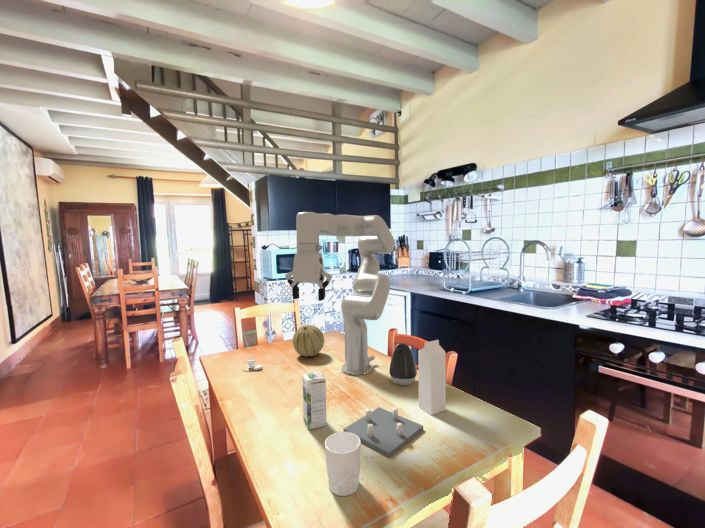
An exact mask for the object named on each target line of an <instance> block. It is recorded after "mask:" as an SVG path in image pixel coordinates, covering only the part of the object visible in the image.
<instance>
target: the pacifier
mask: <svg viewBox="0 0 705 528" xmlns="http://www.w3.org/2000/svg"><path fill="white" fill-rule="evenodd" d="M246 363H247V366H248V367H247V368H248V369H249V368H253V369H252V370H256V371H259V370H262V369H263V365H261V364H257V365H258V366H255V364H256V358H249V359H247V361H246Z"/></svg>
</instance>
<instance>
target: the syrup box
mask: <svg viewBox="0 0 705 528" xmlns="http://www.w3.org/2000/svg"><path fill="white" fill-rule="evenodd" d="M326 380H327V379H326V377H325V376H324V374H322V373H321V372H320V371H314V372H308V373H305V374H302V415H303V422H304V424H305V426H306V427H307V428H306V429H307V430H309V431H310V430H313V429H318V428H321V427H325V426H327V390H326V389H327V384H326V383H327V382H326Z"/></svg>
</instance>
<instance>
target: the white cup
mask: <svg viewBox="0 0 705 528" xmlns="http://www.w3.org/2000/svg"><path fill="white" fill-rule="evenodd" d="M361 444H362V443H361V441H360V438H359V437H358V436H357V435H355V434H353V433H350V432H344V431H337V432H335V433H332V434H330V435H329V436H327V437H326V439H325V440H324V450H325V451H324V452H325V464H326V473H327V480H328V481H327V482H328V489H329V490H330V491H331V493H332V494H333V495H335V496H339V497H347V496H352V495H353V494H354V493H355V492H357V490H358V489H359V486H360V473H361V471H360V470H361Z"/></svg>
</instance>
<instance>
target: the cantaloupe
mask: <svg viewBox="0 0 705 528" xmlns="http://www.w3.org/2000/svg"><path fill="white" fill-rule="evenodd" d="M292 336H293V337H292V346H293V348H294V350H295V352H296V353H297V354H298V355H300V356H302V357H307V358H309V357H308V356H311V357H314V356H316V355H318V354H319V353H320V352H321V351H322V349H323V348H324V345H325V344H324V343H325V338H324V335H323V332H322V331H321V329H320V328H319V327H318V326H316V325H311V324H305V325H303V326H301V327H299V328H298V329H297V330H296V331H295V332H294V334H293V335H292Z"/></svg>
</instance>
